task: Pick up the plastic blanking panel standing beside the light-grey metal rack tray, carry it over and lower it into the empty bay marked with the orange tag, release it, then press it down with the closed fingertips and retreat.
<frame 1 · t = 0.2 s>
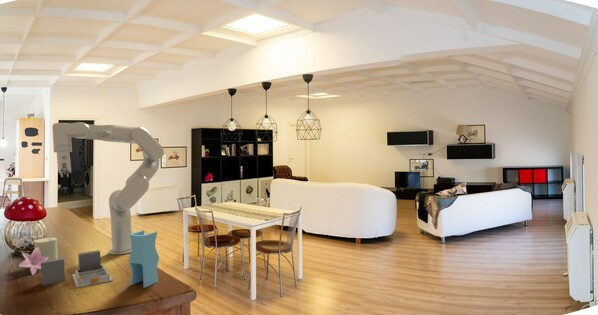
hand: (64, 185, 194), 37 cm above the table, tool pointing down, fingers open, 9 cm apart
blue tall curved block: (145, 283, 162), on the table
lily: (35, 272, 180), on the table
can: (47, 264, 191), on the table
rack: (92, 278, 169), on the table
panel: (53, 282, 166), on the table
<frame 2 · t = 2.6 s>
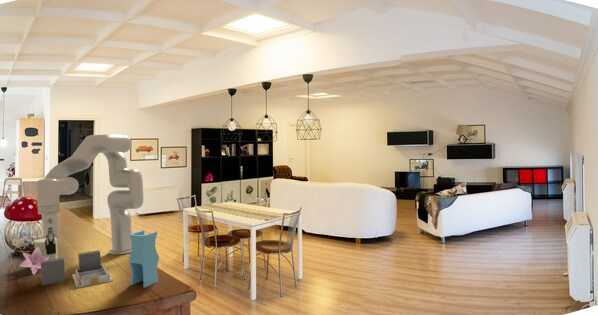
hand: (50, 251, 165), 13 cm above the table, tool pointing down, fingers open, 9 cm apart
nothing on the table moved.
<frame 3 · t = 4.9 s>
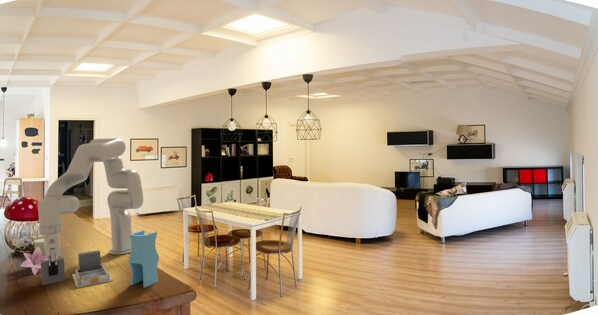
hand: (53, 273, 166), 4 cm above the table, tool pointing down, fingers closed on panel, 3 cm apart
panel: (53, 281, 166), on the table, touching gripper
everything else where it was.
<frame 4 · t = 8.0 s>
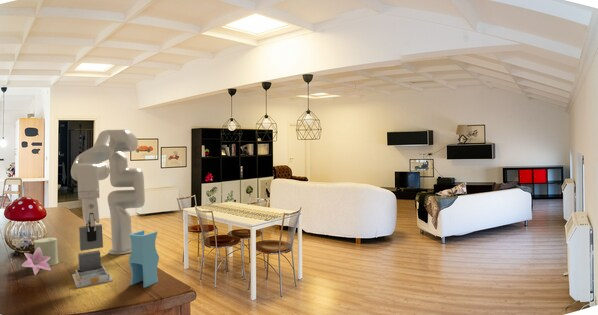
hand: (91, 239, 164), 17 cm above the table, tool pointing down, fingers closed on panel, 3 cm apart
panel: (91, 248, 164), point 14 cm above the table, touching gripper
everything else where it was.
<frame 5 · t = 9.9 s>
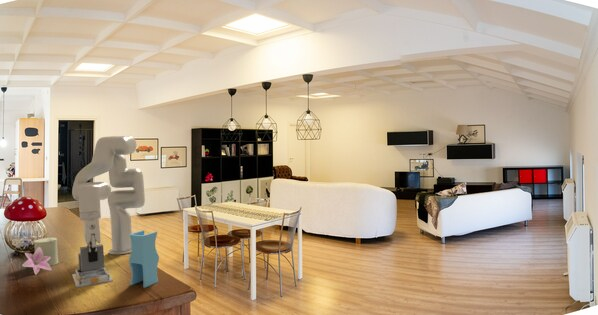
hand: (92, 260, 164), 9 cm above the table, tool pointing down, fingers closed on panel, 3 cm apart
panel: (92, 268, 164), point 5 cm above the table, touching gripper
everything else where it was.
when the fingers open (5 cm above the table, at t = 11.5 s): panel stays where it is, resting on rack.
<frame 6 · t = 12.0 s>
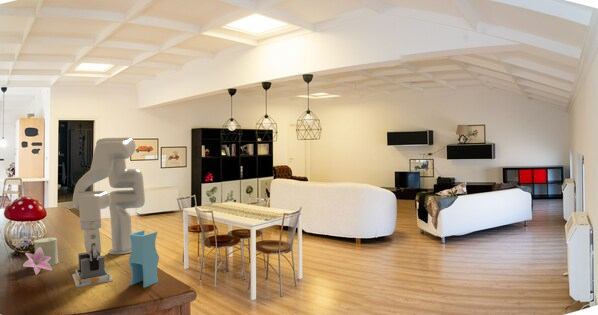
hand: (93, 267, 165), 6 cm above the table, tool pointing down, fingers open, 8 cm apart
panel: (93, 280, 165), point 1 cm above the table, touching rack
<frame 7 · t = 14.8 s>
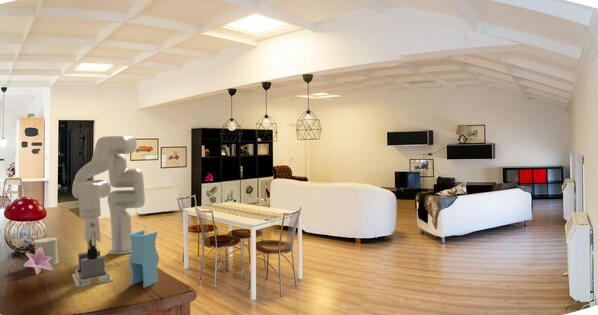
hand: (92, 258, 164), 10 cm above the table, tool pointing down, fingers closed
panel: (93, 280, 165), point 1 cm above the table, touching gripper, rack
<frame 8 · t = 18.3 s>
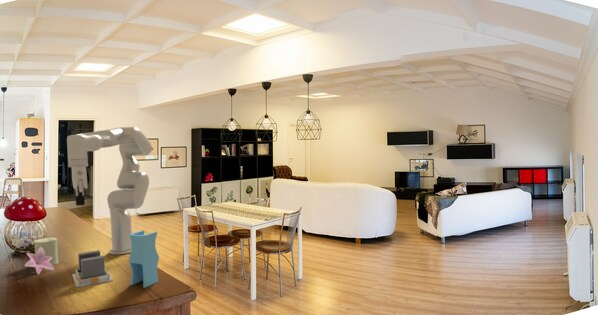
hand: (80, 204, 179), 29 cm above the table, tool pointing down, fingers closed
panel: (93, 280, 165), point 1 cm above the table, touching rack
at the end: panel 0.1 cm from the target spot on the rack, point 0.6 cm above the rack's base; panel tilted 0°; the gripper is holding nothing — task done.
